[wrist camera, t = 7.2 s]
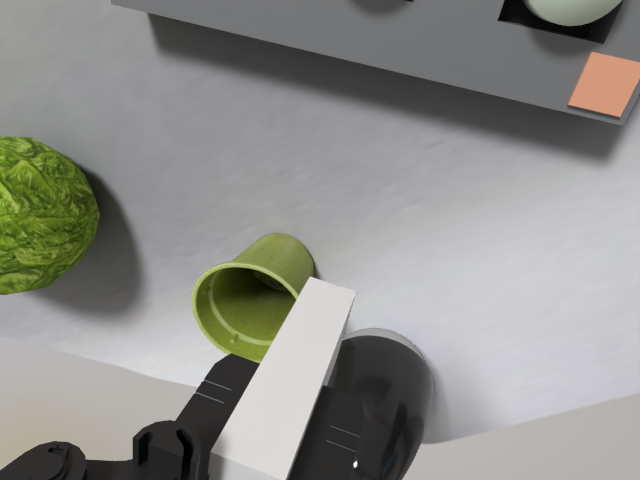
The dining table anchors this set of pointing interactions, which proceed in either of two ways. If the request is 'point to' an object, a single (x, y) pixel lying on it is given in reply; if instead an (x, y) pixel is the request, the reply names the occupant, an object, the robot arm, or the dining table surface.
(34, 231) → the lettuce
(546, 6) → the sage button
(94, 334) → the dining table surface
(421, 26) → the button console
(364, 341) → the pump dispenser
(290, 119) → the dining table surface
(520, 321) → the dining table surface
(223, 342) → the plant pot
